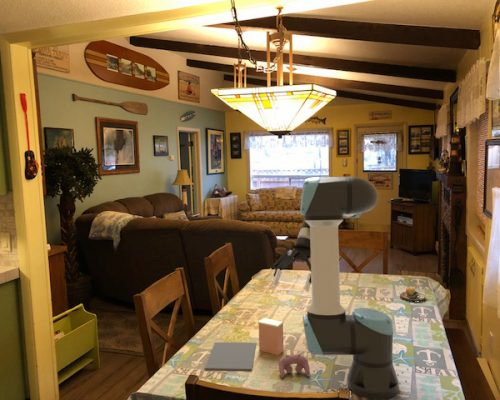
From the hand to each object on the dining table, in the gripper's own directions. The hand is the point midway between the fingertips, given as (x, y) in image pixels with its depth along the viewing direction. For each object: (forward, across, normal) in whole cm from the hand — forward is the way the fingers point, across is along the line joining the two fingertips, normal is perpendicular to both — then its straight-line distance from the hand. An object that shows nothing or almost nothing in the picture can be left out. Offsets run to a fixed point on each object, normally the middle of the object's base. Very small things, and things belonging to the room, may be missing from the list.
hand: (289, 287), depth 160 cm
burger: (-34, -31, -66) cm, 81 cm away
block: (+23, +2, -7) cm, 24 cm away
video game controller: (+31, -12, +1) cm, 33 cm away
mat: (+31, +12, +1) cm, 33 cm away
